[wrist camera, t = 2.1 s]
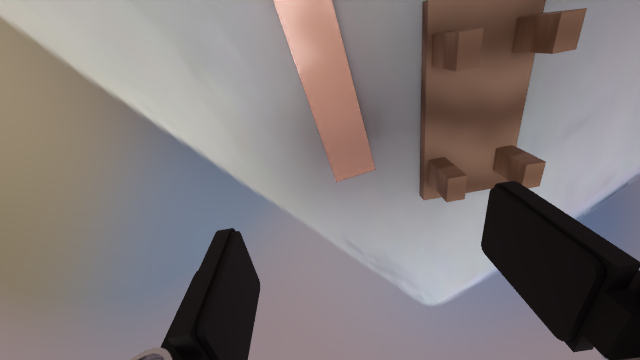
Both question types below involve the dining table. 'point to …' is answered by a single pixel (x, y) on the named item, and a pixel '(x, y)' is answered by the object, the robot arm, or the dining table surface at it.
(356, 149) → the clay strip
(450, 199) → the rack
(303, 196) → the dining table surface
